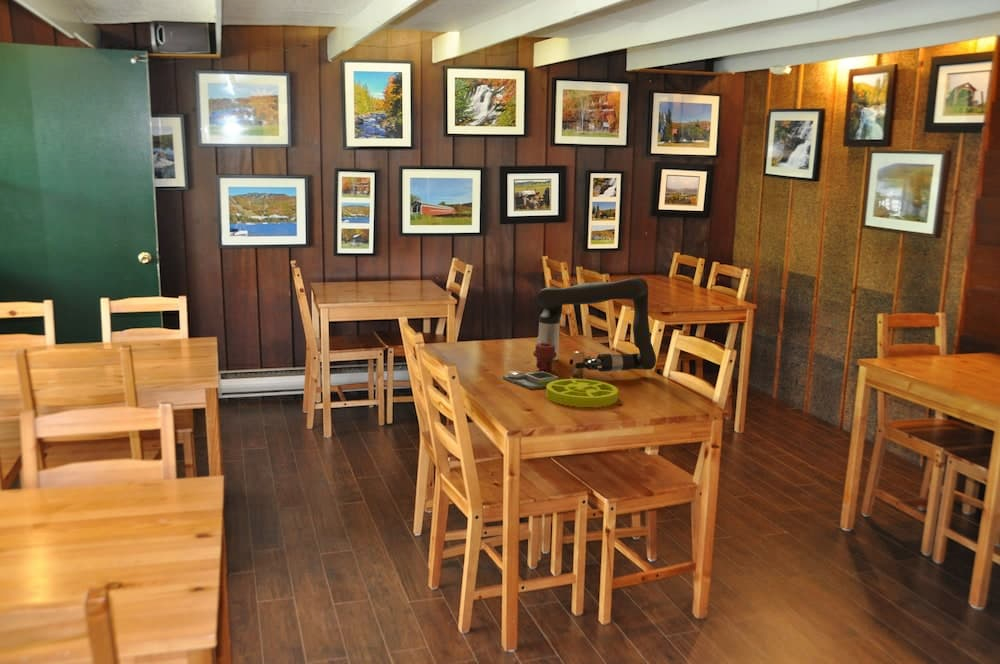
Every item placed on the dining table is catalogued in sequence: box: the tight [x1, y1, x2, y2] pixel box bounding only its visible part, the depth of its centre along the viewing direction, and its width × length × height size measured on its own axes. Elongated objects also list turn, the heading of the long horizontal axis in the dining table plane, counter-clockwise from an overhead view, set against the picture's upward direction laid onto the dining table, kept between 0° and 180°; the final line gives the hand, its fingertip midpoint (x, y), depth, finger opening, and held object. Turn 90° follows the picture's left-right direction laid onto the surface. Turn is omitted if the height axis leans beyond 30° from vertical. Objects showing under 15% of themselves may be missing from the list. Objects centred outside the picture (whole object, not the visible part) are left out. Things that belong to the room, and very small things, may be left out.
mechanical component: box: [533, 342, 556, 372], centre depth 387 cm, size 12×10×10 cm
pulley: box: [545, 378, 619, 408], centre depth 347 cm, size 28×28×5 cm
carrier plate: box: [502, 370, 559, 390], centre depth 368 cm, size 20×16×3 cm
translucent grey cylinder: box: [569, 350, 586, 379], centre depth 373 cm, size 6×6×12 cm
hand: (572, 363), depth 372 cm, fingers open, 6 cm apart
